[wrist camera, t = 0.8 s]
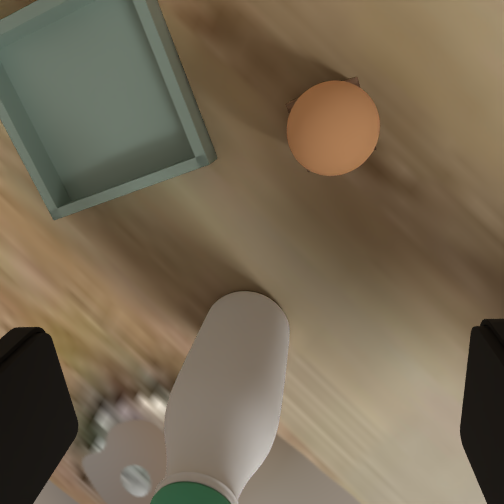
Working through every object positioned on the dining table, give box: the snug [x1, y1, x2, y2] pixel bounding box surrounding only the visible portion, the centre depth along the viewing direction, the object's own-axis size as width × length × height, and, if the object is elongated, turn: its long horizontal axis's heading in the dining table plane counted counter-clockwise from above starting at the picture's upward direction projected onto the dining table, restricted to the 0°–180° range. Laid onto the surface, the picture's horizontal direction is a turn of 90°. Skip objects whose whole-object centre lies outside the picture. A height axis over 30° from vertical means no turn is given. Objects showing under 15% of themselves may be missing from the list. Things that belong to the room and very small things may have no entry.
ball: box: [287, 80, 380, 176], centre depth 23 cm, size 5×5×5 cm
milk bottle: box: [150, 291, 290, 504], centre depth 30 cm, size 8×8×20 cm
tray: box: [0, 0, 217, 220], centre depth 32 cm, size 14×14×3 cm
